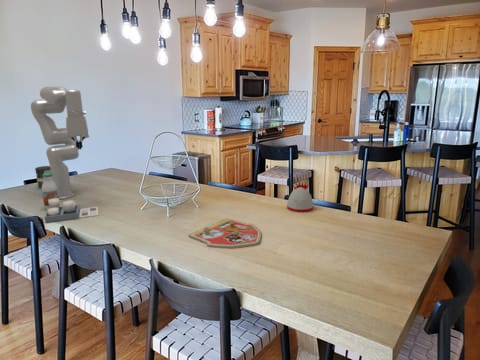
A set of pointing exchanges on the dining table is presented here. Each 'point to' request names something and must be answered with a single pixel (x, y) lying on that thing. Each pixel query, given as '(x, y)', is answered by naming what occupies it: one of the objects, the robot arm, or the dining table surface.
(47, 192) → the milk bottle
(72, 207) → the button
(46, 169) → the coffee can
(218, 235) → the coat of arms plaque
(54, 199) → the button
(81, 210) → the card
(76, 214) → the button board
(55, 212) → the button
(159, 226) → the dining table surface
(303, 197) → the grey red dome
